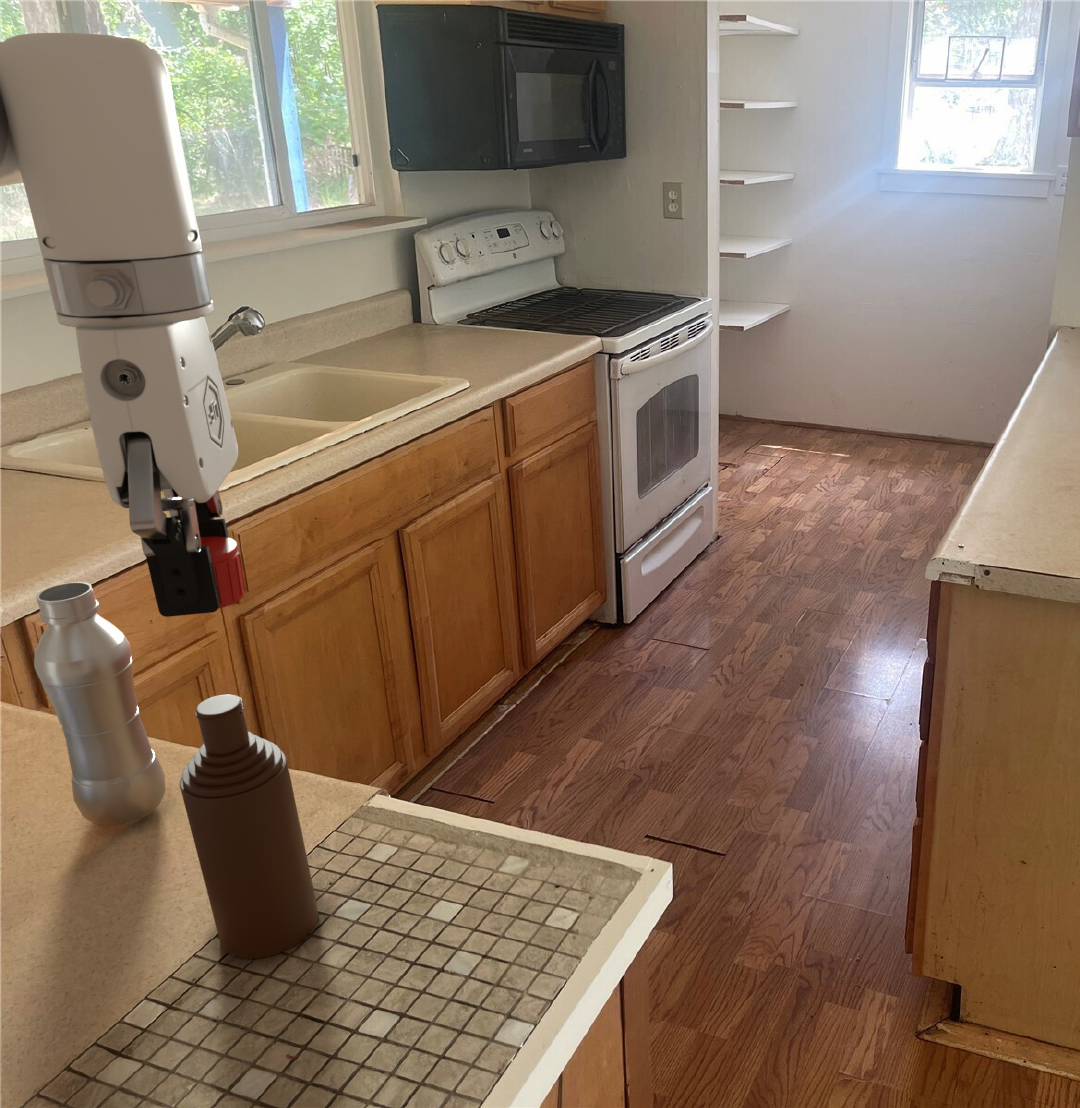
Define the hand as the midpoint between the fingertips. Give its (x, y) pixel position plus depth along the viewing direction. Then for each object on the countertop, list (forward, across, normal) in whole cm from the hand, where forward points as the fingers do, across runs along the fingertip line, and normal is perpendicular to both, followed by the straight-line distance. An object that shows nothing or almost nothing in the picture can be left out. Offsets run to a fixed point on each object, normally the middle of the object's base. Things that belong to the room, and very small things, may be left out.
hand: (199, 593), depth 63 cm
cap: (0, 0, 0) cm, 1 cm away
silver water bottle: (+26, +17, +14) cm, 34 cm away
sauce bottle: (+26, 0, 0) cm, 26 cm away
